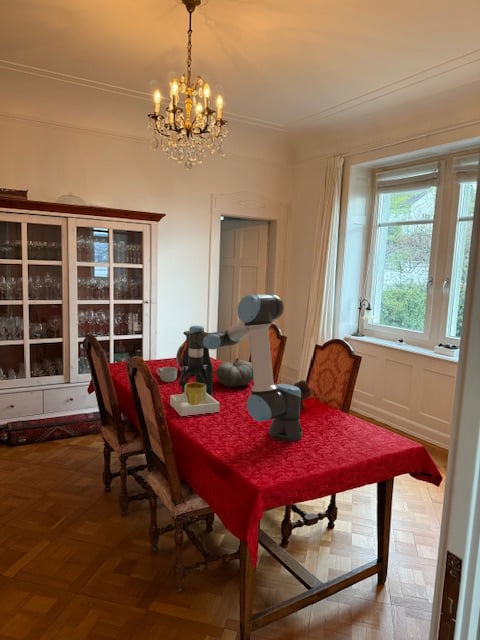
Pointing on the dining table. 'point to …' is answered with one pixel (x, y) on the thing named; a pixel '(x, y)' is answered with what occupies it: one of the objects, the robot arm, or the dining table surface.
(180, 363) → the amphora vase
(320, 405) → the dining table surface
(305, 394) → the ice cream bowl
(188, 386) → the plant pot
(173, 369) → the teacup
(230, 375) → the gourd
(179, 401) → the bin
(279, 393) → the robot arm
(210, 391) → the beer bottle
